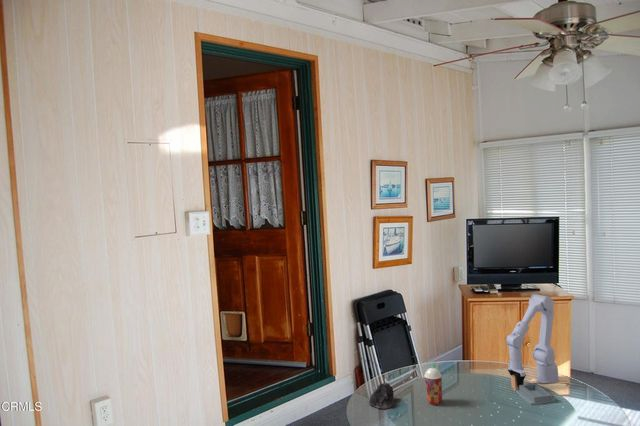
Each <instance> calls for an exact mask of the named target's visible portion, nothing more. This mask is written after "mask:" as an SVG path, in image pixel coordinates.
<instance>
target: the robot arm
mask: <svg viewBox="0 0 640 426" xmlns="http://www.w3.org/2000/svg"><path fill="white" fill-rule="evenodd" d="M554 304H555V301H554V299H553V298H552V297H551V296H548V295H547V296H546V295H542V294H537V293H532V294H531V297H530V299H529V300H528V307H527V309H526V311H525V314H524V315H523V317H522V320H520V321H518V322H517V323H516V324H515V327H514V329H513V331H512V332H511V333H510V334H508V335H507V337H506V339H505V343H506V345H507V347H508V353H509V355H508V356H509V362H507V366H508V367H507V372H508V373H509V374H510V375H509V376H511V375H514V376H515V378H516V382H517V386H518V388H519V385H523V381H524V382H525V379H526V377H527V373H526V371H524V367H523V356H522V346H523V345H524V342H525V336H526V335H527V333H528V330H529V328H530V327H529V324H530V322H532V319H533V318H534V317H535V315H536V313H539V312H540V313H541V318H540V319H541V321H540V327H539V336H538V337H539V338H538V344H537V343H536V345H534V349H533V351H532V358H533V359H534V361H535V363H536V375H537V376H534V379H535V380H536V381H538V382H539V383H540V384H541V385H542V384H549V383H550V384H551V383H558V382H560V379H559V370H558V369H559V368H558V365H557V363H556V362H555V360H556V356H555V350H554V348H553V347H552V345H551V343H552V332H553V323H554V314H555V310H554Z"/></svg>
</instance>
